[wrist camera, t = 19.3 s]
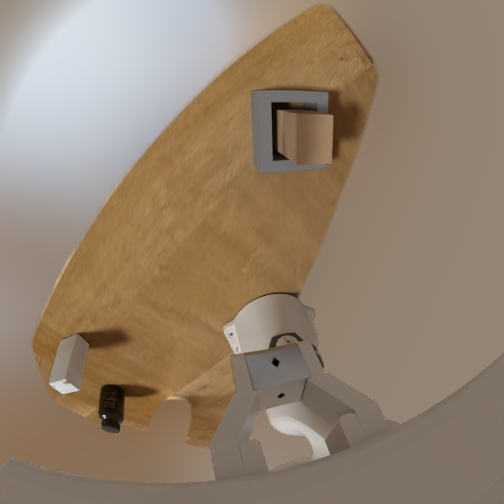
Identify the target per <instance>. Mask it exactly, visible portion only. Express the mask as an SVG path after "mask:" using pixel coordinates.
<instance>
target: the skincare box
mask: <svg viewBox="0 0 504 504" xmlns="http://www.w3.org/2000/svg"><path fill="white" fill-rule="evenodd" d="M88 350H89V344H88V343H87V342H86V341H85V340H84V339H83V338H82V337H81V336H80V335H79V334H75V335H73V336H70V337H67V338H65V339H62V340H61V342H60V345H59V348H58V351H57V355H56V358H55V362H54V365H53V369H52V372H51V376H50V380H49V384H50V385H51V386H52V387H54V388H55V389H56V390H58V391H59V392H61V393H62V394H65V393H70V392H75V391H80V389H81V383H82V378H83V373H84V368H85V363H86V358H87V354H88Z"/></svg>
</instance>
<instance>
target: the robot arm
mask: <svg viewBox="0 0 504 504" xmlns="http://www.w3.org/2000/svg"><path fill="white" fill-rule="evenodd" d="M314 317H315V311H314V309H313V308H311V307H308V306H305V305H303V304H302V303H301V301H300V300H298V299H297V298H295V297H293V296H291V295H287V294H272V295H267V296H263V297H261V298H258V299H256V300H254V301H252V302H250V303H249V304H247V305H246V306H245V307H244V308H243V309H242V310H241V311H240V312H239V313H238V315H237V316H236V317H235V319H234V320H232V321H230V322H229V323H227V324H226V325H225V326H224V327H223V331H224V333H225V335H226V337H227V339H228V341H229V343H230V345H231V347H232V349H233V351H234V353H235V354H233V355H230V361H231V368H232V374H233V380H234V385H235V390H236V394H234V395H233V397H232V399H231V401H230V403H229V406H228V408H227V410H226V412H225V414H224V416H223V418H222V420H221V422H220V425H219V427H218V429H217V431H216V433H215V435H214V437H213V439H212V441H211V443H210V451H211V456H212V461H213V468H214V473H215V479H216V480H215V481H205V482H189V483H139V482H124V481H114V480H105V479H98V478H91V477H85V476H80V475H74V474H70V473H65V472H60V471H57V470H53V469H49V468H45V467H41V466H38V465H35V464H31V463H28V462H25V461H22V460H19V459H16V458H9V459H8V460H7V461H6V462H4V464H3V465H2V466H1V467H0V504H504V353H503V354H502V355H501V356H500V357H499V358H498V359H496V360H495V361H494V362H493V363H492V364H491V365H489V366H488V367H487V368H486V369H485V370H483V371H482V372H481V373H480V374H478V375H477V376H476V377H475V378H473V379H472V380H471V381H469V382H468V383H467V384H465V385H464V386H463V387H461V388H460V389H458V390H457V391H455V392H454V393H453V394H451V395H450V396H448V397H447V398H445V399H444V400H442V401H441V402H439V403H437V404H436V405H434V406H433V407H431V408H430V409H428V410H426V411H424V412H423V413H421V414H419V415H417V416H416V417H414V418H412V419H410V420H408V421H407V422H405V423H403V424H400V423H398V422H395V421H392V420H387V419H385V417H384V415H383V413H382V411H381V409H380V407H379V406H378V404H377V402H376V401H374V400H372V399H371V398H369V397H368V396H366V395H364V394H363V393H361V392H359V391H358V390H356V389H354V388H353V387H351V386H349V385H348V384H346V383H345V382H343V381H341V380H340V379H338V378H337V377H335V376H333V375H332V374H330V373H325V372H324V370H323V368H324V364H323V361H322V357H321V355H320V353H319V352H318V350H317V347H318V343H319V342H320V339H319V336H318V333H317V331H316V328H315V326H314V323H313V319H314ZM264 409H266V412H267V416H268V419H269V422H270V424H271V425H272V426H273V427H274V428H275V429H276V430H278V431H279V432H281V433H284V434H288V435H296V436H306V437H307V439H308V440H309V442H310V443H311V445H312V448H313V451H312V452H311V453H309V454H307V455H304V456H302V457H300V458H297V459H295V460H293V461H290V462H287V463H285V464H283V465H280V466H277V467H276V468H274V469H272V470H271V471H268V467H267V464H266V461H265V457H264V454H263V450H262V447H261V443H260V441H257V440H255V439H254V440H249V437H250V434H251V432H252V429H253V426H254V423H255V421H256V418H257V415H258V412H259V411H260V410H264Z"/></svg>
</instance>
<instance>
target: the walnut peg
mask: <svg viewBox="0 0 504 504" xmlns="http://www.w3.org/2000/svg"><path fill="white" fill-rule="evenodd" d="M271 116H272V148H273V149H275V150H276V151H278V152H279V153H281V154H282V155H284V156H285V157H287V158H288V159H289V160H291V161H292V162H294V163H295V164H297V165H314V164H332V145H333V115H331V114H326V113H321V112H316V111H311V110H305V109H299V108H277V109H271Z"/></svg>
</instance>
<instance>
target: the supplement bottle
mask: <svg viewBox="0 0 504 504" xmlns="http://www.w3.org/2000/svg"><path fill="white" fill-rule="evenodd" d="M124 400H125V394H124V391H123V390H122V389H120V388H118V387H116V386H112V385H105V386H103V387H102V388H101V390H100V399H99V411H98V415H99V418H100V419H101V420H102V422H101V424H102V427H101V428H102V429H103V430H105V431H107V432H111V433H119V432H120V424H121V423H122V422H123V421H124Z"/></svg>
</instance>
